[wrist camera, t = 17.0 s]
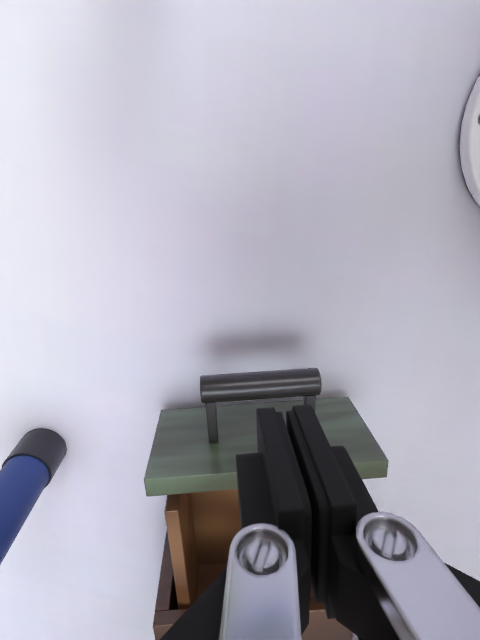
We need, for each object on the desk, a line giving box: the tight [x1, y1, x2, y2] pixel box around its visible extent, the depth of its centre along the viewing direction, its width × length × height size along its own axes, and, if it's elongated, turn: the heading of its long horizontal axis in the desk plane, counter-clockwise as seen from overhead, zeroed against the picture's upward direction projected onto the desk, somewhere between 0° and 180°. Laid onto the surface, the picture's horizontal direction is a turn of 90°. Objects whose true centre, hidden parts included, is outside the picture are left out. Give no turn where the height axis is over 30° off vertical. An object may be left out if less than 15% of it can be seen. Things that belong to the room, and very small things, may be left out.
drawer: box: [144, 368, 388, 609], centre depth 26 cm, size 19×14×7 cm
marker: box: [0, 429, 66, 564], centre depth 23 cm, size 3×3×12 cm
